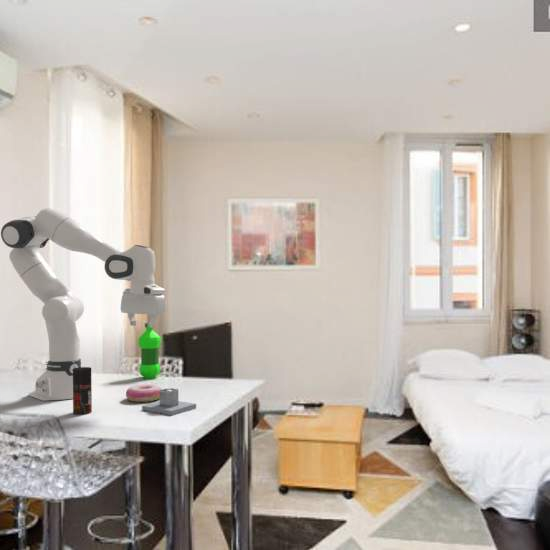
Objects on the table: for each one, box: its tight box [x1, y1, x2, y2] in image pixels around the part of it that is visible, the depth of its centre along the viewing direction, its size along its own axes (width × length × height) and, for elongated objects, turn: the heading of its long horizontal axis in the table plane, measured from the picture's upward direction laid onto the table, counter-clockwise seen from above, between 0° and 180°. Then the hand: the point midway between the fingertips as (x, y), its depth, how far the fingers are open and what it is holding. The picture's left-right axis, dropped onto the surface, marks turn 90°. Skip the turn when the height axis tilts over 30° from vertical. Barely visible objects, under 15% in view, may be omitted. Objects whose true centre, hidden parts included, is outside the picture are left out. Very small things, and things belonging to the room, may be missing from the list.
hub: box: [159, 387, 179, 407], centre depth 190 cm, size 6×6×5 cm
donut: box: [125, 384, 163, 403], centre depth 206 cm, size 14×13×5 cm
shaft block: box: [141, 390, 197, 416], centre depth 190 cm, size 14×12×6 cm
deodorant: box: [72, 366, 93, 416], centre depth 186 cm, size 6×6×15 cm
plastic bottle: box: [137, 322, 162, 380], centre depth 252 cm, size 10×10×25 cm
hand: (141, 326), depth 203 cm, fingers open, 8 cm apart
